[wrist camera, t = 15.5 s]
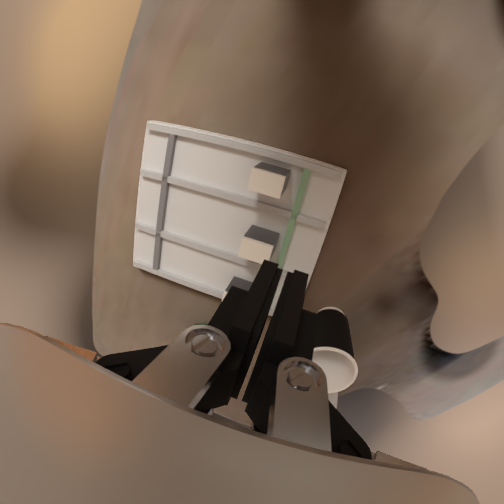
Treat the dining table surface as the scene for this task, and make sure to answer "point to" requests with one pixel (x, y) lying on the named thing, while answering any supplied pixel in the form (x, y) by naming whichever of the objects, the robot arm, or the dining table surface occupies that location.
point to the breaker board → (225, 208)
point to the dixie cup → (334, 349)
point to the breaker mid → (258, 244)
